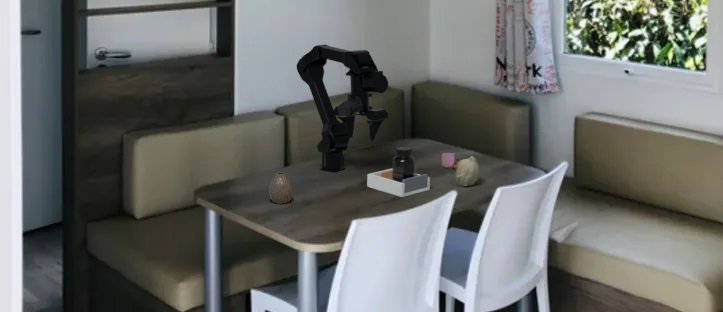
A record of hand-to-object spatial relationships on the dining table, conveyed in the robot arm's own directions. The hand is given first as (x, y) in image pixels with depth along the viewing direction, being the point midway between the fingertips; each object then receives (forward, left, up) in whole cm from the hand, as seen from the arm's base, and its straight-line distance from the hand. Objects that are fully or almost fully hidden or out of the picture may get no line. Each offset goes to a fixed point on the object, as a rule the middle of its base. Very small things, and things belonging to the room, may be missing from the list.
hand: (361, 139), depth 308 cm
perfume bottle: (+19, +30, -13) cm, 38 cm away
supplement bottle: (+18, -5, -12) cm, 22 cm away
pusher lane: (+16, -4, -13) cm, 21 cm away
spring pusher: (+11, -3, -11) cm, 16 cm away
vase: (-6, -36, -13) cm, 38 cm away
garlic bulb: (+32, +10, -13) cm, 36 cm away
